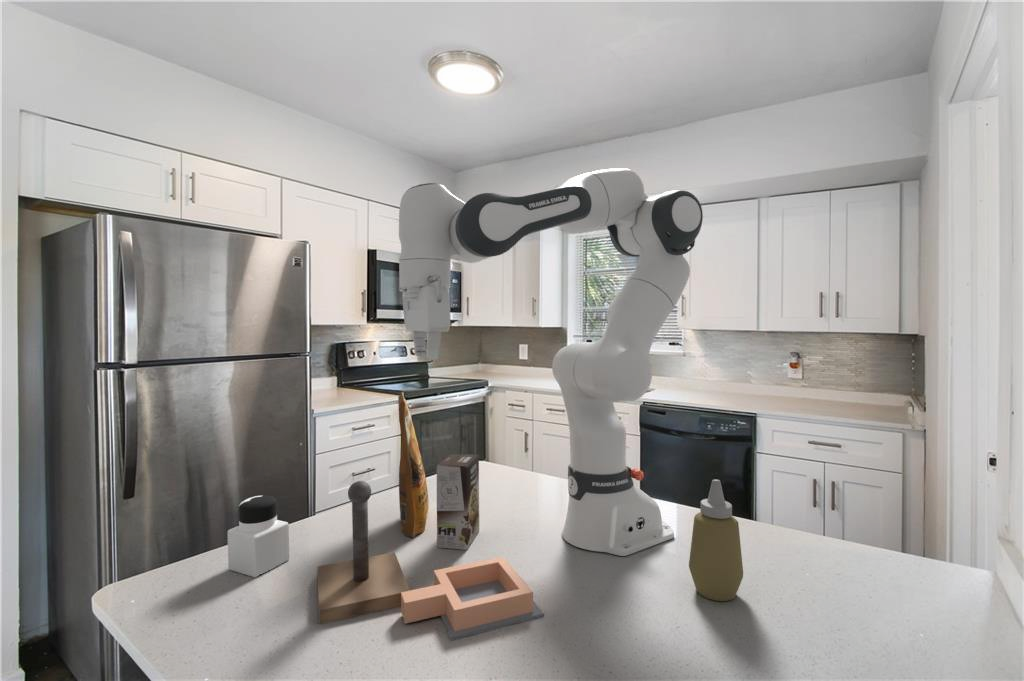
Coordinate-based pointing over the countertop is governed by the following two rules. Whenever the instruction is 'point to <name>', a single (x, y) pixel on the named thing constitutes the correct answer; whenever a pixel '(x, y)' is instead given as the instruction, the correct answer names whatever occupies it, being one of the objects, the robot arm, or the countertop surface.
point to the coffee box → (457, 501)
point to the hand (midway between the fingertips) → (426, 357)
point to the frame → (473, 611)
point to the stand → (359, 572)
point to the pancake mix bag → (411, 477)
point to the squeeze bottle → (716, 548)
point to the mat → (481, 592)
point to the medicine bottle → (258, 538)
